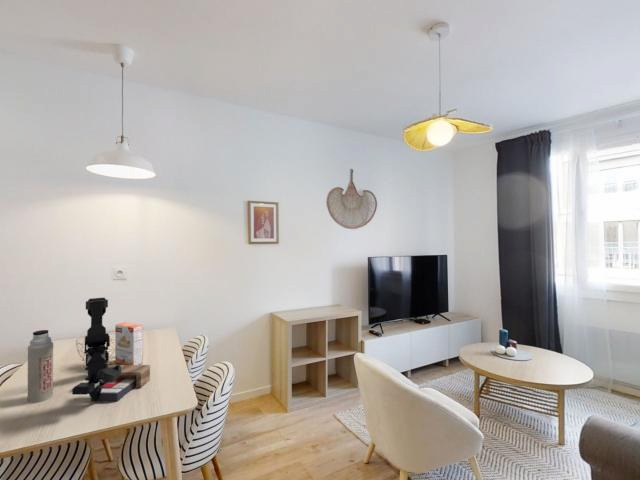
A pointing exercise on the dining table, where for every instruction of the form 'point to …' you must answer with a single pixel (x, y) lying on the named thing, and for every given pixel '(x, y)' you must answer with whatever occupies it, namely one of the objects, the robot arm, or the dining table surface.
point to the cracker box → (129, 344)
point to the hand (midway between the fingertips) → (96, 401)
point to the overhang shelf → (135, 373)
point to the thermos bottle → (40, 367)
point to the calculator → (116, 390)
